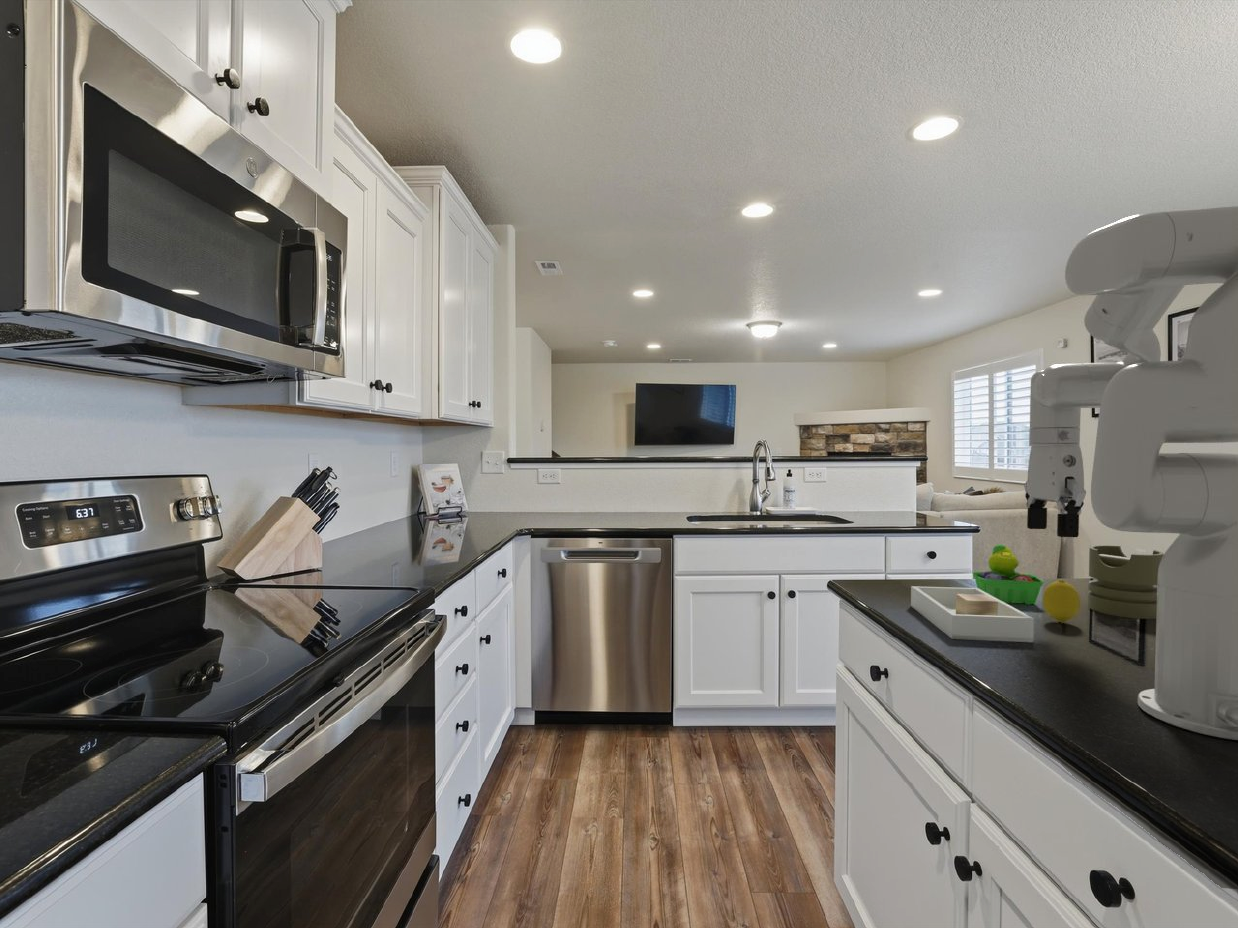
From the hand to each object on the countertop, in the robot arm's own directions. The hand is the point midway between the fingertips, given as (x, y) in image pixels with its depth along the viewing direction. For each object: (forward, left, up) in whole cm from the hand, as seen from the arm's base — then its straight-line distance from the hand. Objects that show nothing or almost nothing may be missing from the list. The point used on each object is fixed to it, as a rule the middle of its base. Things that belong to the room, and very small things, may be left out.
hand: (1051, 532), depth 114 cm
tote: (-2, +15, -17) cm, 22 cm away
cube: (-6, +15, -16) cm, 22 cm away
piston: (+11, -19, -17) cm, 28 cm away
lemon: (0, -2, -17) cm, 17 cm away
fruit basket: (+17, 0, -17) cm, 24 cm away
